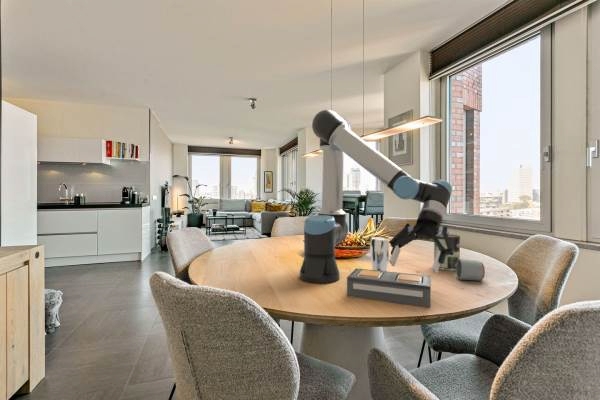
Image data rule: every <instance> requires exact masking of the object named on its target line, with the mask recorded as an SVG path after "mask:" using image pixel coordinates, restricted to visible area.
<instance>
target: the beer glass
mask: <svg viewBox="0 0 600 400" xmlns="http://www.w3.org/2000/svg"><path fill="white" fill-rule="evenodd" d="M389 241H390V240H389V238H387V237H371V238H370V245H369V246H370V248H369V251H370V261H371V265H372V266H371V268H372V269H371V270H377V271H387V272H388V262H389V259H390V257H389V256H390V243H389Z"/></svg>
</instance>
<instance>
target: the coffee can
mask: <svg viewBox="0 0 600 400" xmlns="http://www.w3.org/2000/svg"><path fill="white" fill-rule="evenodd" d="M435 236H436V237H437V238H438V240H439V241H440V243H441V244H442V245H443V247H444V248H445V249H447V246H446V243H445V239H444V236H443V235H442V234H441V233H438V234H437V235H435ZM448 238H449V241H450V244H451V247H452V250H453V253H454V254H453V255H450V254H449V255H446V257H445V260H444V263H443V264H440V266H439V269H438V270H442V271H451V272H452V271H453V272H455V271H456V264H457V261H458V259H461V256H460V253H461V250H460V248H461V244H460V243H461V236H460V235H457V234H448ZM438 251H440V250H439V249H438V247H437V246H436V244H435V243H434V242H433V262H434V261H435V258H436V255H437V252H438Z"/></svg>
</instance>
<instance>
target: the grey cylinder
mask: <svg viewBox="0 0 600 400" xmlns="http://www.w3.org/2000/svg"><path fill="white" fill-rule="evenodd" d="M455 271H456V278H457V279H458V280H460V281H461V280H462V281H464V280H465V281H475V282H477V281H478V282H479V281H482V280H483V279H484V277H485V275H486V273H485V271H486V270H485V265H484V263H483V262H482V261H479V260H474V259H473V260H472V259H465V258H460V259H458V261H457V264H456V270H455Z"/></svg>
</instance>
